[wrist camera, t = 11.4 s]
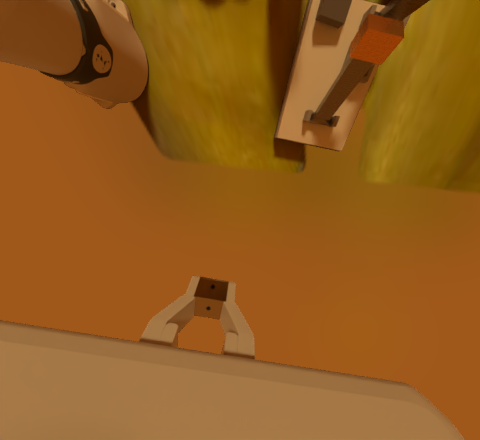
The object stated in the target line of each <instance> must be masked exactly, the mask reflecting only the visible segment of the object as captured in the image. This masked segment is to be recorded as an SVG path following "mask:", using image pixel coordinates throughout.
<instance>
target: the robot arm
mask: <svg viewBox="0 0 480 440" xmlns="http://www.w3.org/2000/svg"><path fill="white" fill-rule="evenodd" d="M114 5H116V8H114ZM0 61H1V62H6V63H10V64H15V65H19V66H23V67H28V68H31V69H35V70H38V71H40V72H41V73H43V74H45V75H47V76H50V77H53V78H54V79H57V80H60V81H63V82H64V84H65V85H67V86H68V87H70V88H74V89H75V90H76V92H77V93H79V94H82V95H85V96H89V97H91V98H92V99H93V100H94V101H96V102H97V103H98V104H99V105H101V106H102V107H103V108H106V109H110V108H112V107H114V106H115V105H116V104H118V103H127V102H131V101H133V100H135V99H137V98H138V97H139V96H140V95H141V94H142V92H143V91H144V89H145V86H146V83H147V78H148V64H147V58H146V54H145V51H144V48H143V45H142V43H141V41H140V39H139V37H138V35H137V34H136V32H135V30H134V27H133V24H132V20H131V15H130V12H129V9H128V7H127V5H126V4H125V3H124V2H123V1H121V0H0ZM235 291H236V283H235V282H229V281H224V280H217V279H211V278H206V277H200V276H195V275H193V277H192V279H191V281H190V284H189V286H188V289H187V291H186V294H185V295H182V296H181V297H179V298H178V299H177V300H175V301H174V302H173V303H171V304H170V305H169V306H167V307H166V308H165V309H163V310H162V311H161V312H159V313H158V314H157V315H155V316H154V317H153V318H151V320H150V321H149V323H148V325H147V327H146V329H145V331H144V333H143V335H142V336H141V338H140V341H139V342H136V341H130V340H124V339H118V338H111V337H104V336H98V335H91V334H85V333H79V332H72V331H65V330H59V329H53V328H46V327H40V326H34V325H27V324H21V323H15V322H8V321H2V320H0V440H465V439H464V438H463V436H462V435H461V434H460V432H459V431H458V430H457V429H456V427H455V426H454V425H453V423H452V422H451V421H450V420H449V419H448V418H447V417H446V416H445V415H444V414H443V413H442V412H441V411H440V410H438V409H437V408H436V407H435V406H434V405H433V404H432V403H431V402H430V401H429V400H428V399H427V398H425V397H424V396H423V395H422V394H421V393H420V392H419V391H417V390H416V389H415V388H414V387H412V386H411V385H409V384H406V383H402V382H397V381H390V380H384V379H377V378H371V377H364V376H357V375H351V374H345V373H338V372H331V371H326V370H319V369H312V368H306V367H300V366H293V365H287V364H280V363H274V362H266V361H261V360H255V358H254V335H253V333H252V331H251V329H250V328H249V326H248V324H247V322H246V320H245V318H244V317H243V315H242V313H241V311H240V309H239V307H238V306H237V304H235V303H234V302H235ZM194 316H202V317H208V318H213V319H219V320H220V323H221V326H222V328H223V331H224V334H225V341H224V345H223V349H222V352H221V354H214V353H209V352H202V351H196V350H188V349H182V348H177V346H178V333H179V332H180V331H181V329H183V328H184V327H185V325H186V324H187V323H188V322H189V321H190V320H191V319H192V318H193V317H194Z"/></svg>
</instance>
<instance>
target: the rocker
mask: <svg viewBox="0 0 480 440" xmlns="http://www.w3.org/2000/svg"><path fill="white" fill-rule="evenodd" d="M351 3H352V0H320V4H319V7H318V11H317V15H316V18H315V20H317V21H319V22H322V23H325V24H327V25H330V26H333V27H336V28H340V27H341V26H342V25H344V24H345V21H346V18H347V15H348V12H349V9H350V6H351Z"/></svg>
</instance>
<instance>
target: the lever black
mask: <svg viewBox="0 0 480 440" xmlns="http://www.w3.org/2000/svg"><path fill="white" fill-rule="evenodd" d="M428 1H429V0H392V1H391V2H389V3H388V4H387V5H386V6H385V7H384V8H383V9H382V10H381V11H380V12H377V11H375V13H374V15H378V16H382V17H386V18H391V19H395V20H399V21H402V20H403V19H405V18H406V17H407V16H409V15H410V14H411V13H413V12H414V11H416V10H417V9H418V8H420V7H421V6H422V5H424V4H425V3H427V2H428Z"/></svg>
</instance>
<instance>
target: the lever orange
mask: <svg viewBox="0 0 480 440" xmlns="http://www.w3.org/2000/svg"><path fill="white" fill-rule="evenodd" d="M403 38H404V22H403V21H399V20H395V19H391V18H386V17H382V16H378V15H374V14H370V13H368V15H367V17H366V18H365V20H364V22H363V23H362V25H361V27H360V28H359V30H358V32H357V34H356V35H355V37H354V39H353V40H352V42H351V45H350V57H349V59H348V60H347V62H346V64H345V65H344V67H343V68H342V70H341V72H340V73H339V75H338V76H337V78H336V79H335V81H334V83H333V84H332V86H331V87H330V89H329V91H328V92H327V94H326V95H325V97H324V98H323V100H322V102H321V103H320V105H319V106H318V108H317V110H316V111H315V112H312V114H311V118H310V121H308V122H312V123H316V124H321V125H326V126H329V125H330V123H331V121H332V116H333V115H334V114H335V112H336V111H337V110H338V108H339V107H340V106H341V105H342V103H343V102H344V101H345V100H346V98H347V97H348V96H349V94H350V93H351V92H352V91H353V89H354V88H355V87H356V85H357V84H358V83H359V82H360V80H361V79H362V78H363V76H364V75H365V74H366V73H367V71H368V70H369V69H370V68H371V66H372V65H373V64H374V63H376V64H380V65H381V64H382V63H383V62H384V61H385V60H386V58H387V57H388V56H389V55H390V54H391V52H392V51H393V50H394V49H395V48H396V46H397V45H398V44H399V43H400V42H401V40H402V39H403Z"/></svg>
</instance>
